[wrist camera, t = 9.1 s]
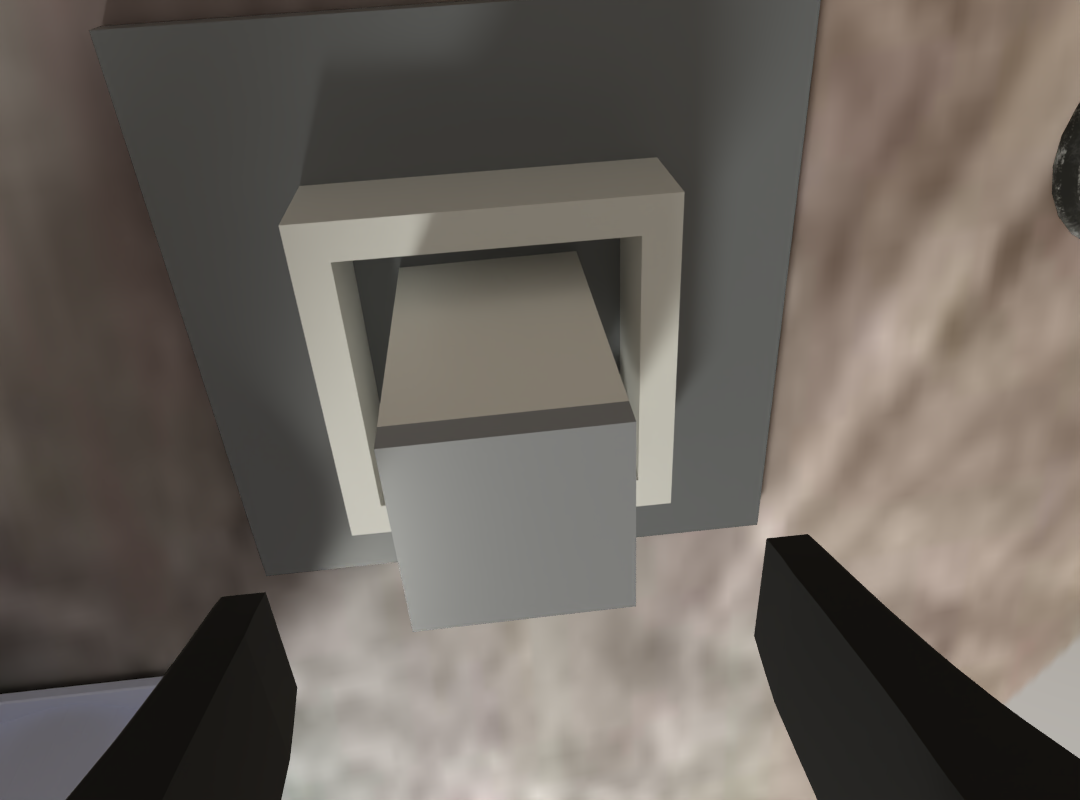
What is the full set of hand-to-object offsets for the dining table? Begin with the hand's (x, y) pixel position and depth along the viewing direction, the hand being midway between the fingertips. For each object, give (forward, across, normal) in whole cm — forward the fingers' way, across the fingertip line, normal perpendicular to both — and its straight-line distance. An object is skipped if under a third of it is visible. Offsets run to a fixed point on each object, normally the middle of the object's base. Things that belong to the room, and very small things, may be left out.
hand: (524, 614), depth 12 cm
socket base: (+9, 0, 0) cm, 9 cm away
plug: (+9, 0, 0) cm, 9 cm away
